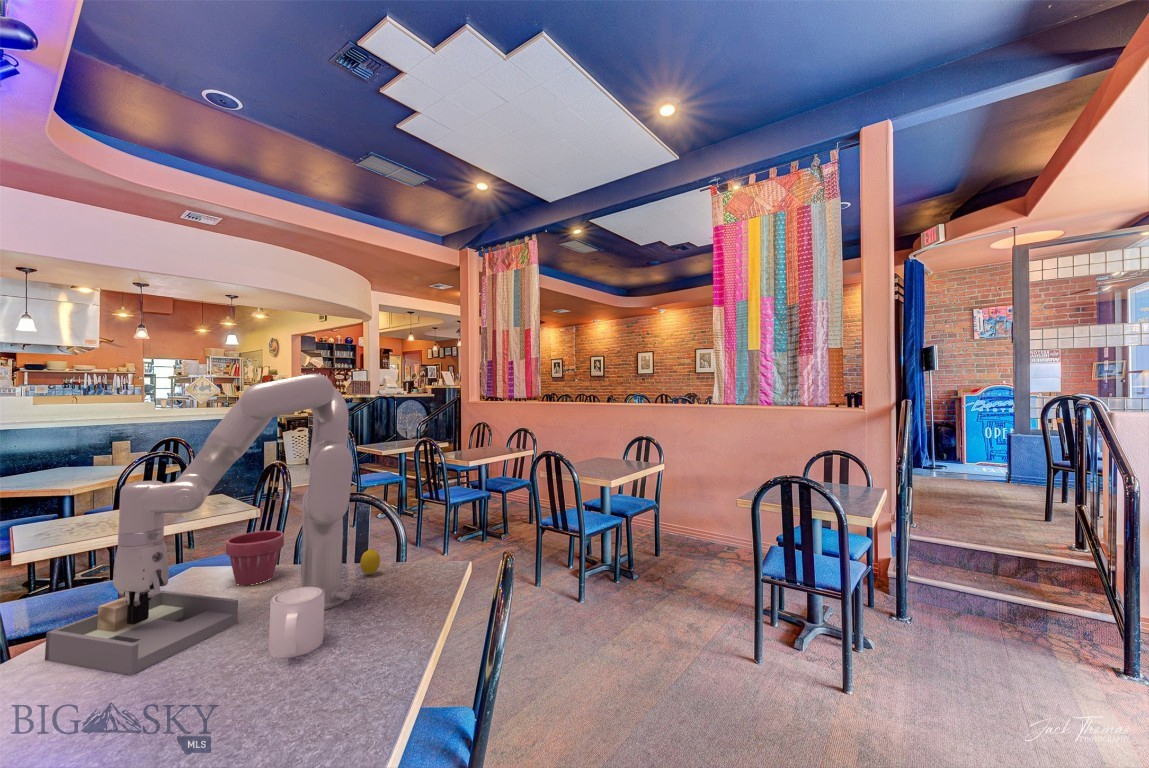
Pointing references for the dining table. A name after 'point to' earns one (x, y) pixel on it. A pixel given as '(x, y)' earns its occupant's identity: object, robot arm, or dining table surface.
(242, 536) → the plant pot
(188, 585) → the dining table surface
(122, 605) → the maple block
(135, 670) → the box
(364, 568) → the lemon
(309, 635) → the mug
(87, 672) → the dining table surface
